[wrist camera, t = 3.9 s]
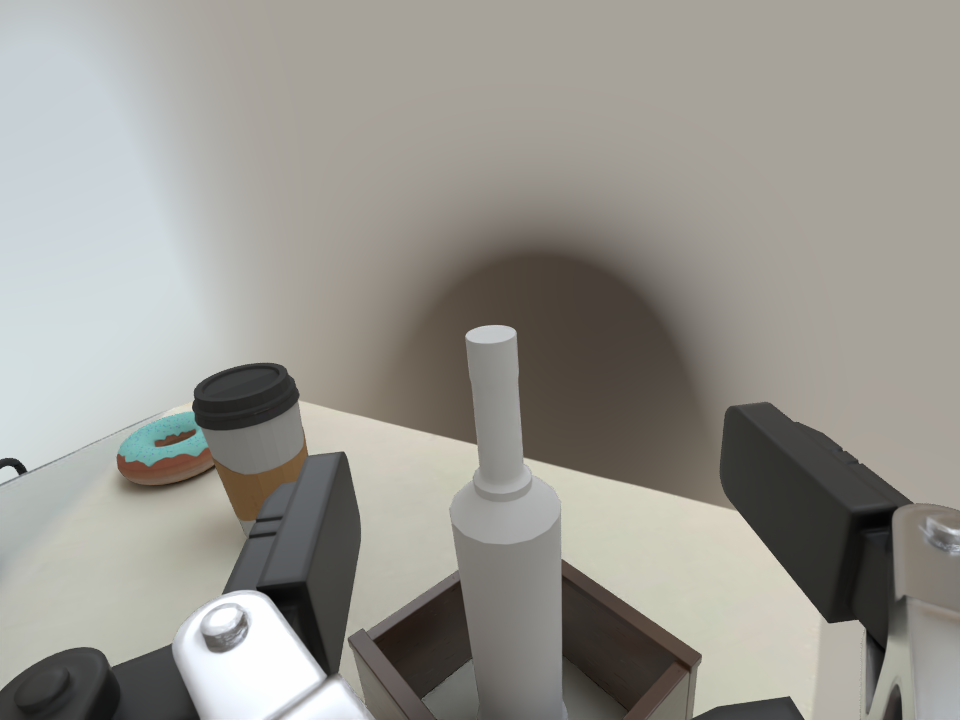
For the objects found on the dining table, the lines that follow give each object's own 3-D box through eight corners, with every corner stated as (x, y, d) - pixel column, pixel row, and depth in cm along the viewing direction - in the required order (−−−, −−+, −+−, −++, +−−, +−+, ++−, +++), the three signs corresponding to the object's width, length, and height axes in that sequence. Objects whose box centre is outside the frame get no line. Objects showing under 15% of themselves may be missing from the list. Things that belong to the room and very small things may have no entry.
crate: (368, 724, 34) (346, 638, 31) (520, 604, 41) (514, 526, 38) (529, 961, 24) (519, 865, 21) (692, 746, 31) (702, 654, 28)
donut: (232, 476, 60) (222, 444, 58) (109, 504, 57) (95, 472, 55) (241, 425, 70) (233, 397, 69) (138, 447, 67) (127, 418, 66)
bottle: (502, 802, 29) (452, 371, 19) (466, 714, 34) (411, 328, 24) (586, 757, 31) (580, 339, 21) (541, 679, 35) (519, 305, 25)
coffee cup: (345, 521, 51) (312, 374, 45) (260, 573, 46) (209, 415, 40) (301, 487, 57) (266, 353, 51) (220, 530, 52) (171, 386, 46)
